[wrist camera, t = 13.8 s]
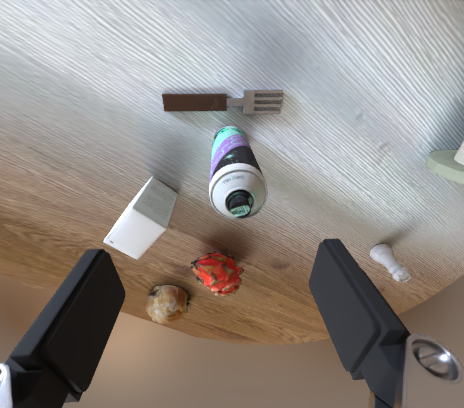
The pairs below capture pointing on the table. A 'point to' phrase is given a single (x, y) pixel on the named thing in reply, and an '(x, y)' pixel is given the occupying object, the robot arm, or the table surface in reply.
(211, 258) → the dragon fruit
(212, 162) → the spray can
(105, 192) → the table surface
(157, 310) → the bread roll
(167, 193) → the small box
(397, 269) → the rook chess piece
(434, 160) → the spool
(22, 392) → the robot arm
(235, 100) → the fork
